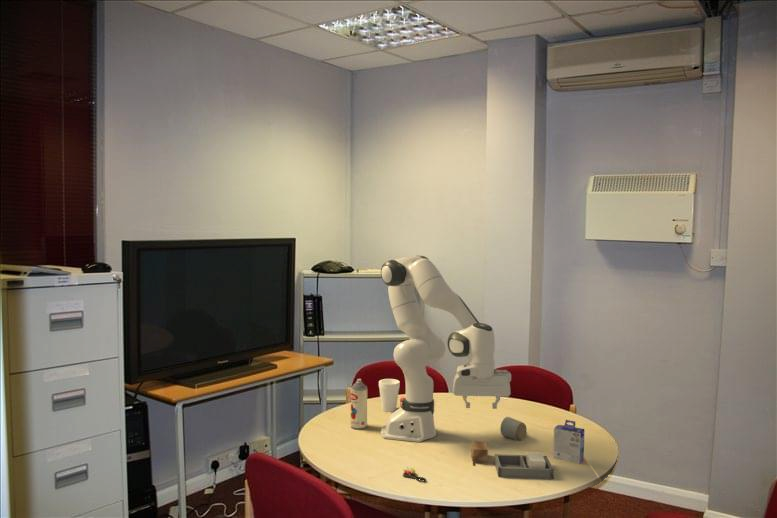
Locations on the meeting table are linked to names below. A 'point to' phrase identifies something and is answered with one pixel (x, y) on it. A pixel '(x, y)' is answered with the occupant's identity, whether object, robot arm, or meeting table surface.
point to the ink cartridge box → (568, 443)
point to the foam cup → (389, 394)
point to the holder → (520, 467)
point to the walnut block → (479, 452)
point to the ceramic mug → (513, 428)
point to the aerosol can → (359, 405)
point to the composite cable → (412, 475)
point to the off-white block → (535, 460)
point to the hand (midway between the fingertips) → (481, 407)
